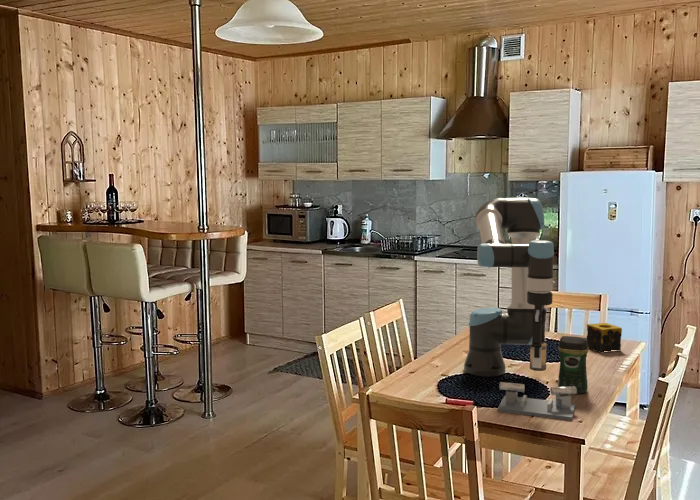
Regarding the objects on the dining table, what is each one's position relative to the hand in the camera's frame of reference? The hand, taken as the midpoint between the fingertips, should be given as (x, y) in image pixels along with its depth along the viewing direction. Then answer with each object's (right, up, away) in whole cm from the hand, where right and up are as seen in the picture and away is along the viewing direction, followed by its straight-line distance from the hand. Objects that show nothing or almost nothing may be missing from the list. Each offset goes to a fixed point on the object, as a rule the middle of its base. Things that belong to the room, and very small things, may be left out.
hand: (537, 364), depth 213 cm
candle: (+47, -6, +73) cm, 87 cm away
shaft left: (-7, -14, +5) cm, 16 cm away
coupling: (0, -1, 0) cm, 1 cm away
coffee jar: (+17, -12, +20) cm, 29 cm away
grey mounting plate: (0, -14, +2) cm, 14 cm away
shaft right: (+8, -14, +1) cm, 16 cm away
